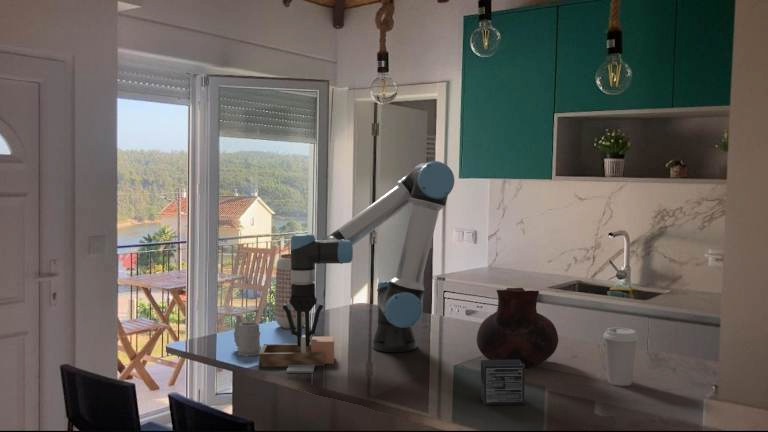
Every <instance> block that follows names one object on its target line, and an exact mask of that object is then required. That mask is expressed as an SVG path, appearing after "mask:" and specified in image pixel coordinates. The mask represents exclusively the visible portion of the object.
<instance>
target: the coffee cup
mask: <svg viewBox="0 0 768 432" xmlns="http://www.w3.org/2000/svg"><path fill="white" fill-rule="evenodd" d="M602 337H603V339H604V347H605V359H606V360H605V362H606V376H607V382H608V384H609V385H610V384H611V385H613V386H621V387H626V386H631V385H632V383H633V375H634V365H635V357H636V351H637V342H638V340H639V336H638V334H637V332H636V330H635V329H631V328H626V327H608V328H606V329H605V332H604V333H603V335H602Z"/></svg>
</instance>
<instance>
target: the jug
mask: <svg viewBox="0 0 768 432" xmlns="http://www.w3.org/2000/svg"><path fill="white" fill-rule="evenodd" d="M496 294H497V299H498V302H497V308H496V311H495V312H493V313H492V314H490V315H489V316H487V317H486V318H485V319H484V320H483V321H482V322H481V324H480V325H479V328H478V329H477V333H476V334H477V335H476V345H477V347H478V350H479V352H480V353H481V354H482V355H483V357H485V359H486V360H520V361H521V362H522V363H523V364H524V365H525V366H524V369H529V368H533V367H536V366H539V365H541V364H542V363H544V362H545V361H547V360H548V359H549V358H550V357H552V355H554V353H555V352H556V350H557V347H558V345H559V336H558V335H559V334H558V330H557V328H556V326H555V324H554V323H553V321H551V320H550V319H549V318H548V317H547V316H545V315H543V314H540V313H538V311H537V304H538V297H539V294H540V291H539V290H533V289H532V290H530V289H529V290H525V288H524V287H507V288H506V289H497V290H496Z"/></svg>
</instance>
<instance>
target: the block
mask: <svg viewBox="0 0 768 432" xmlns="http://www.w3.org/2000/svg"><path fill="white" fill-rule="evenodd" d="M310 344H311V352H325V364H326V365H327V364H329V365H330V364H333V365H334V364H335V363H334V362H335V335H333V336H332V335H331V336H320V335H319V336H312V337H311V340H310Z"/></svg>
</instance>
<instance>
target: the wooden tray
mask: <svg viewBox="0 0 768 432" xmlns="http://www.w3.org/2000/svg"><path fill="white" fill-rule="evenodd" d="M309 364H315V367H325V352H311V343H310V344H309V346H306V352H301V346H298V345H297V343H263V346H261V350H260V352H259V354H258V367H259V368H260V367H264V368H266V367H270V368H271V367H274V368H275V367H288V365H309Z"/></svg>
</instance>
